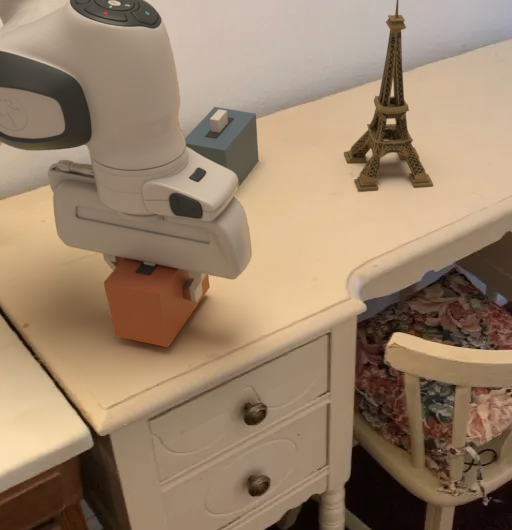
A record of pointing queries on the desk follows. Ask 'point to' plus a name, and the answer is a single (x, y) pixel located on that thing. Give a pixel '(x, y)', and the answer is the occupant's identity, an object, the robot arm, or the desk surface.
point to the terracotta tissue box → (149, 301)
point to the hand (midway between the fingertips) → (161, 291)
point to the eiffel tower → (378, 130)
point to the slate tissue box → (227, 140)
